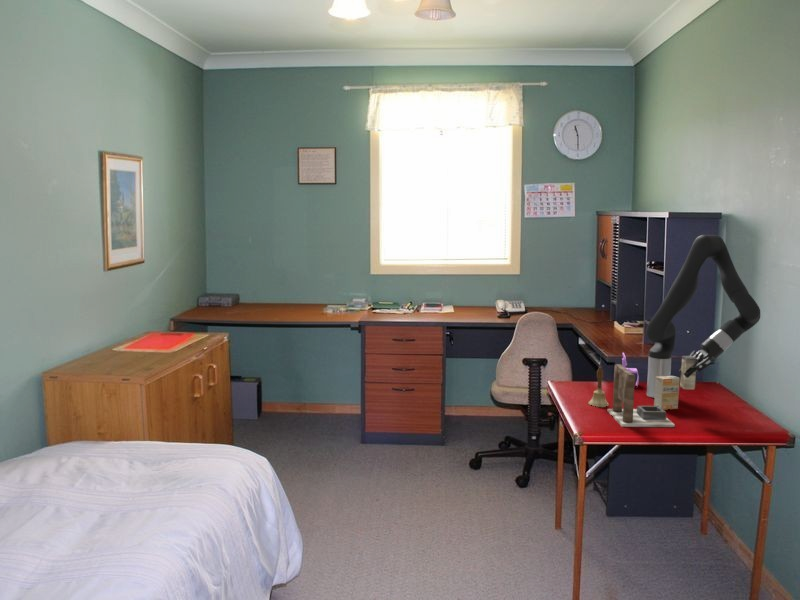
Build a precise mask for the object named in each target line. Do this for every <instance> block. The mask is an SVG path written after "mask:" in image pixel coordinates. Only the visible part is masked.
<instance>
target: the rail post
mask: <svg viewBox="0 0 800 600" xmlns="http://www.w3.org/2000/svg"><path fill="white" fill-rule="evenodd" d="M696 360H697V358H695V357H693V356H689V355H682V356H681V367H680V369H681V373H680V383H679V388H682V389H683V390H695V388H696V378H697V377H696V375H697V373H696V372H694V373H693V374H692V375H691V376H689V377H688V378H687V377H686V376H685V375H684V372H686V371H687V370H688V369H689V368H690V367H691V366H692V365H693V364H694V363H695V361H696Z"/></svg>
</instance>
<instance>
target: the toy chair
mask: <svg viewBox="0 0 800 600" xmlns="http://www.w3.org/2000/svg"><path fill="white" fill-rule="evenodd" d="M625 354H626V353H625V352H622V357H621V361H622V364H621V365H622V366H624V367H625V368H626V369H627V370H628V371H630V372H631V373H632V374H637V379H636V382H635V386H637V387H636V388H638V386H639V382H640V381H639V380H640V375H639V371H638V369H637V368H635V367H627V366H628V362H627V357H626V355H625Z"/></svg>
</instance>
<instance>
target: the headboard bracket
mask: <svg viewBox="0 0 800 600" xmlns="http://www.w3.org/2000/svg"><path fill="white" fill-rule="evenodd" d="M626 368H627V367H626ZM626 368H625V367H624V366H623V364H615V365H614V369H613V371H614V372H613V373H614V374H613V392H612V393H613V394H612V395H613V396H612V408H607V412H608V413H609V414H610V416H611V415H612V416H613V417H612V416H611V417H612V418H613V419H614V420H615V421H616V422H617V423H618V424H619V425H620V427H622V428H623V427H626V428H627V427H628V428H629V427H632V428H638V427H639V428H642V427H643V428H675V423H674V422H672V420H670V419H669V418H668V417H667V412H666V410H663V409H662V408H660V407H659V406H654V405H637V406H636V408H634V401H635V386H636V382H635V381H636V375H635V373H631V372H630V371H628V370H627V369H626Z"/></svg>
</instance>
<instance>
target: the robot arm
mask: <svg viewBox="0 0 800 600" xmlns="http://www.w3.org/2000/svg"><path fill="white" fill-rule="evenodd" d="M707 259H712V260H713V261H714V263H715V264H716V265H717V268H718V270H719V273H720V274H719V275H720V283H721V286H722V288H723V290H724V292H725V293H726V295H727V297H728V299H729V300H730V302H731V303H733V304H734V306H735V308H736V310H737V311H738V313H739V314H737V315H736V316H735V317H734V318H733V319H730V320H728V321H727V322H725V323H724V324H722V326H721V327H720V328H718V329H717V330H716V331H714V332H712V334H711V335H709V336H708V337H707V338H706V339H705V340H704V341H703V342H702V343H701V344H700V347H701V349H700V350H698V351H696V350H693V351H692V352H691V353H690V354H689V355H688V356H693V357H695V358H697V360H696V361H695V363H694V364H693V365H692V366H691V367H690V368H689V369H688V370H687V371H686V372H684V375H685V376H686V377H687V378H688V377H689V376H691V375H692V374H693V373H694V372H698V373H699V372H701V371H703V370H704V369H706V368H707V367H708V366H711V364H712V363H713V362H712V360H711V359H714V360H717V359H718V358H719V356H721V355H722V354H723V353H724V352H725V351H726V350H728V349H729V347H731V345H732V344H733V343H734V342H735V341H736V340H738V339H739V338H740V337H741V336H742V334H744V333H746V332H747V331H749V330H750V329H752V328H753V327H754V326H755V325H757V323H759V321H760V320H761V308H760V307H759V305H758V303H757V302H756V300H755V299H754V298H753V297H752V295H751V294H750V293H749V291H748V289H747V287H746V286H745V284H744V282H743V280H742V278H741V277H740V276H739V274H738V271H737V269H736V267H735V265H734V263H733V260H732V258H731V255H730V252H729V250H728V248H727V245H726V242H725V240H724V239H723V238H722V237H721V236H720V235H717V234H701V235H699V236H697V237H696V238H695V240H694V241H693V243H692V245H691V248H690V250H689V252H688V254H687V256H686V259H685V261H684V263H683V265H682V267H681V269H680V271H679V272H678V274H677V276H676V278H675V280H674V281H673V282H672V284H671V287H670V289H669V290H668V292H667V294H666V295H665V298H664V299H663V301H662V303H661V304H660V307H659V308H658V309H657V311H656V313H655V314H654V315H653V316H652V318H651V319H650V321H649V322H648V324H647V326H646V330H645V334H646V335H645V336H646V337H647V340H649V342H653V343H654V345H653V346H651V347H650V349H649V350H648V363H647V379H646V381H647V382H646V396H647V397H650V398H651V399H652V398H653V399H655V384H656V376H658V377H659V376H671V373H672V372H671V371H672V355H673V352H674V351H675V350H674V349H675V344H676V343H675V341H676V326H675V324H674V322H672V321H673V319H674V318H675V317H676V315H677V314H679V313H680V312H681V311H682V310H683V309H684V308H685V307H686V306H687V305H688V304H690V302H691V300H692V299H693V297H694V295H695V293H697V290H698V286H699V273H700V271H701V268H702V267H703V264H704V263H705V261H706V260H707ZM678 371H679V372H678V373H680V374H681V368H680V369H679V370H678Z"/></svg>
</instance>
